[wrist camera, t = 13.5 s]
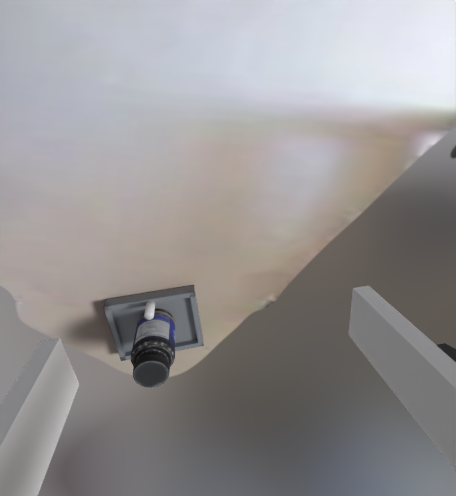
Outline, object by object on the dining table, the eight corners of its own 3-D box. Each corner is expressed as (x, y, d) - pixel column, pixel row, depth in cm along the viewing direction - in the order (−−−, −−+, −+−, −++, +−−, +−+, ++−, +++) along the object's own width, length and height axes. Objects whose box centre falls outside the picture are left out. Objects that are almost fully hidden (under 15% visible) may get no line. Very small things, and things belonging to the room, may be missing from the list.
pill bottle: (169, 340, 51) (167, 394, 41) (133, 333, 49) (121, 388, 39) (180, 311, 49) (180, 361, 39) (143, 303, 47) (133, 353, 37)
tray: (123, 351, 52) (117, 374, 47) (106, 299, 47) (98, 319, 42) (202, 337, 53) (204, 358, 48) (193, 284, 48) (195, 302, 44)
